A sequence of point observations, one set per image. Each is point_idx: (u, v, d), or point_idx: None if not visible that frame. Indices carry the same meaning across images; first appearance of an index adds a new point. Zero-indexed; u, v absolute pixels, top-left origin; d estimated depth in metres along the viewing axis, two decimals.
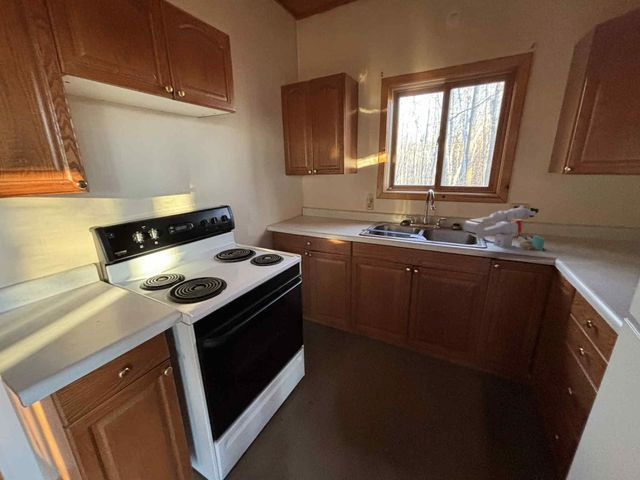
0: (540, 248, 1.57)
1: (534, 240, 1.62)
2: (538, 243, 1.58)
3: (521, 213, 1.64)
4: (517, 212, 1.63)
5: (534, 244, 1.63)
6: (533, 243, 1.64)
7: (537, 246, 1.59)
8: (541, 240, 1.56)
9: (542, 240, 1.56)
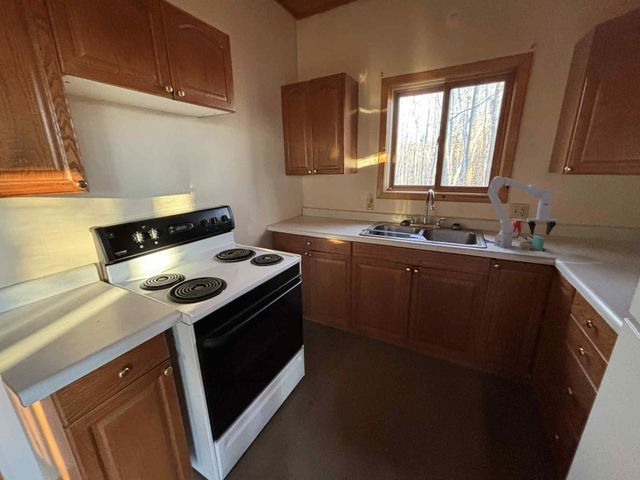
0: (540, 248, 1.57)
1: (534, 240, 1.62)
2: (538, 243, 1.58)
3: (537, 212, 1.57)
4: (547, 208, 1.53)
5: (534, 244, 1.63)
6: (533, 243, 1.64)
7: (537, 246, 1.59)
8: (541, 240, 1.56)
9: (542, 240, 1.56)
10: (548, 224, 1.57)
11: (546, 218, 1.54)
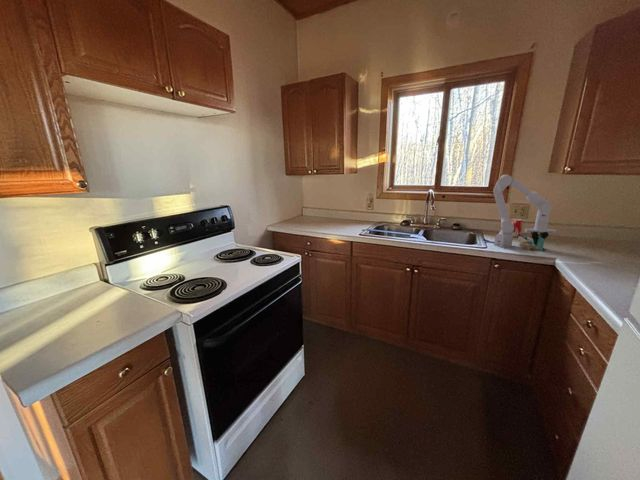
0: (540, 248, 1.57)
1: None
2: (538, 243, 1.58)
3: (535, 223, 1.58)
4: (545, 219, 1.54)
5: (534, 244, 1.63)
6: (533, 243, 1.64)
7: (537, 246, 1.59)
8: (541, 240, 1.56)
9: (542, 240, 1.56)
10: (541, 234, 1.60)
11: (544, 229, 1.56)
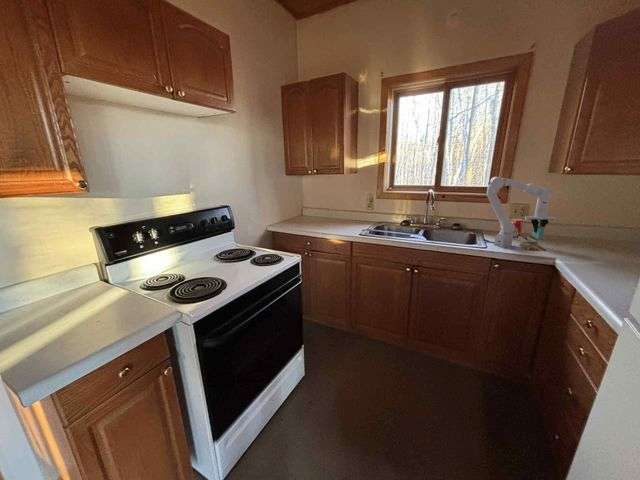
0: (540, 237, 1.58)
1: None
2: (538, 232, 1.59)
3: (535, 211, 1.59)
4: (546, 206, 1.55)
5: (534, 233, 1.63)
6: (533, 232, 1.65)
7: (537, 235, 1.60)
8: (541, 229, 1.57)
9: (542, 229, 1.57)
10: (541, 222, 1.60)
11: (544, 216, 1.56)
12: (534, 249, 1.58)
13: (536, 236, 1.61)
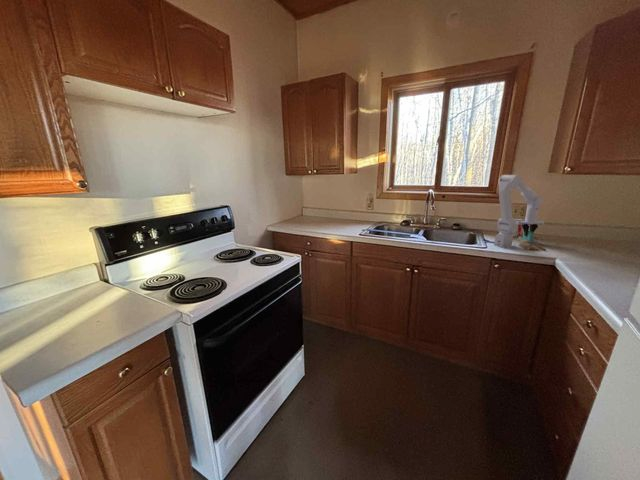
0: None
1: None
2: (528, 237, 1.71)
3: (526, 216, 1.71)
4: (537, 211, 1.67)
5: (524, 238, 1.75)
6: (524, 237, 1.77)
7: (527, 240, 1.72)
8: (531, 234, 1.69)
9: (532, 234, 1.69)
10: (531, 226, 1.72)
11: (534, 221, 1.68)
12: (534, 249, 1.58)
13: None
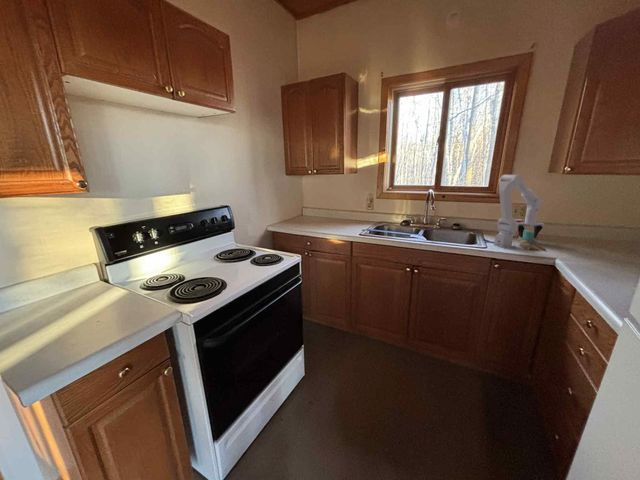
0: None
1: (525, 234, 1.75)
2: (528, 237, 1.71)
3: (526, 217, 1.71)
4: (537, 213, 1.68)
5: (524, 238, 1.75)
6: (523, 237, 1.77)
7: (527, 240, 1.72)
8: (531, 234, 1.69)
9: (532, 234, 1.69)
10: (535, 228, 1.72)
11: (534, 222, 1.68)
12: (534, 249, 1.58)
13: None
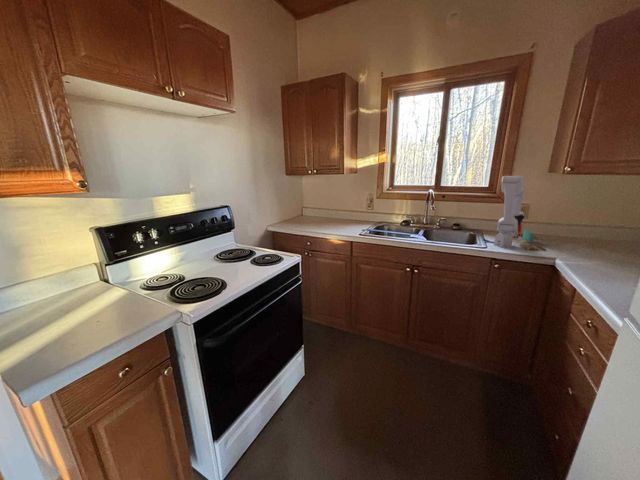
0: None
1: (525, 234, 1.75)
2: (528, 237, 1.71)
3: None
4: None
5: (524, 238, 1.75)
6: (523, 237, 1.77)
7: (527, 240, 1.72)
8: (531, 234, 1.69)
9: (532, 234, 1.69)
10: (517, 217, 1.80)
11: (519, 212, 1.75)
12: (534, 249, 1.58)
13: None
